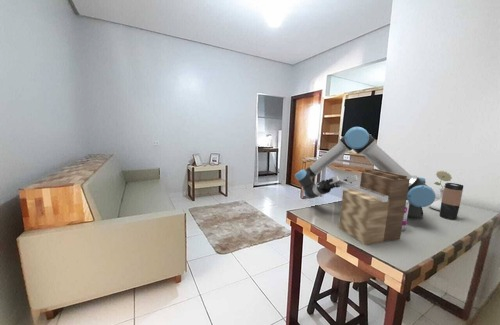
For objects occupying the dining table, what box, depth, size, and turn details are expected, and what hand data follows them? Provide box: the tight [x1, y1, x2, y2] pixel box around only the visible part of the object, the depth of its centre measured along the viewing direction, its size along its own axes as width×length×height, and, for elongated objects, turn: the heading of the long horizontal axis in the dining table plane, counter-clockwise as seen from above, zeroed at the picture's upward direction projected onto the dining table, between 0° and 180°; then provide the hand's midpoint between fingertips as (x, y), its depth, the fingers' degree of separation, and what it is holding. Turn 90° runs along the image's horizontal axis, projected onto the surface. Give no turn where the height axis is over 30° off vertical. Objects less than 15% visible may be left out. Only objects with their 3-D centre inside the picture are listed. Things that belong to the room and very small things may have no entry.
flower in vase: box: [429, 170, 453, 211], centre depth 131 cm, size 13×11×25 cm
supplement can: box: [401, 200, 409, 232], centre depth 104 cm, size 8×8×15 cm
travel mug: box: [439, 182, 464, 221], centre depth 118 cm, size 8×8×20 cm
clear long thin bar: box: [334, 178, 388, 202], centre depth 98 cm, size 30×3×2 cm, turn 17°
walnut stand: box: [338, 168, 410, 246], centre depth 96 cm, size 16×20×30 cm
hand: (347, 177), depth 103 cm, fingers open, 11 cm apart
